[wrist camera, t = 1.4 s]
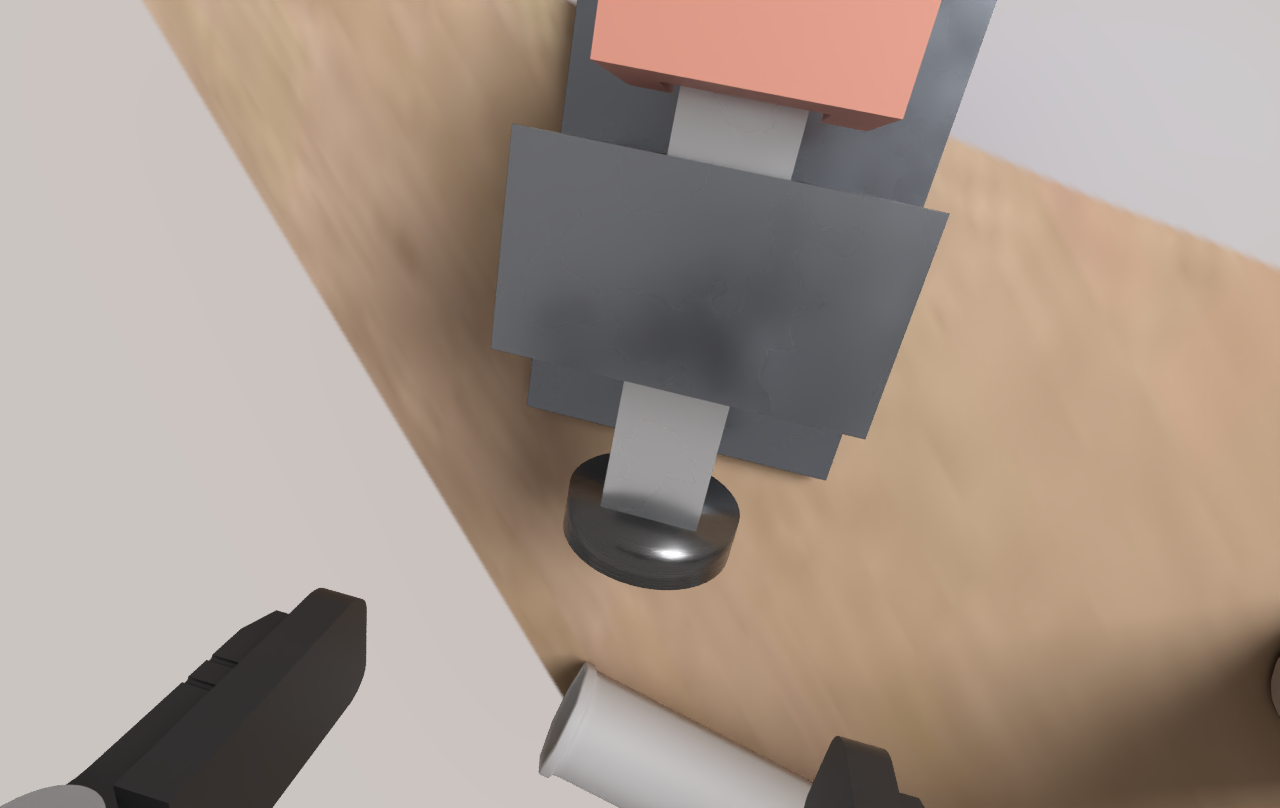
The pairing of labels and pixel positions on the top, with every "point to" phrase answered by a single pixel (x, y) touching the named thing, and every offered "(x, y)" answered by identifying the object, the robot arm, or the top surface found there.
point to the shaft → (676, 401)
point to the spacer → (773, 51)
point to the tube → (656, 754)
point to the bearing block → (724, 257)
